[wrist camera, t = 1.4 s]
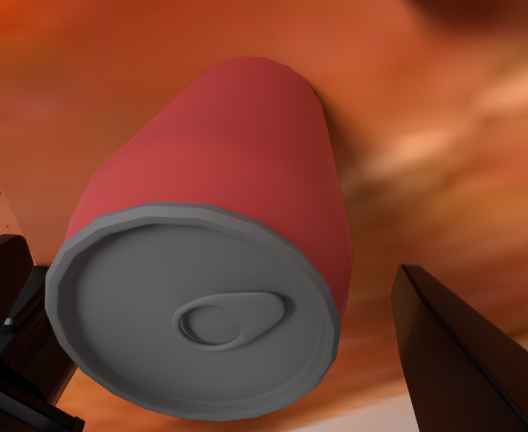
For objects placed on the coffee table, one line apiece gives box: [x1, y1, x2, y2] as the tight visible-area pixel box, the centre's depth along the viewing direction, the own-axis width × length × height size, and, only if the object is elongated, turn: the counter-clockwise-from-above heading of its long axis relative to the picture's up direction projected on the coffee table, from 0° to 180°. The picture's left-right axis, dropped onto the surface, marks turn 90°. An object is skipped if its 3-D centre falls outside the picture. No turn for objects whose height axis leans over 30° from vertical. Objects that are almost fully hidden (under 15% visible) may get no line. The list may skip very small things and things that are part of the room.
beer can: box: [45, 57, 354, 422], centre depth 12 cm, size 7×7×12 cm
